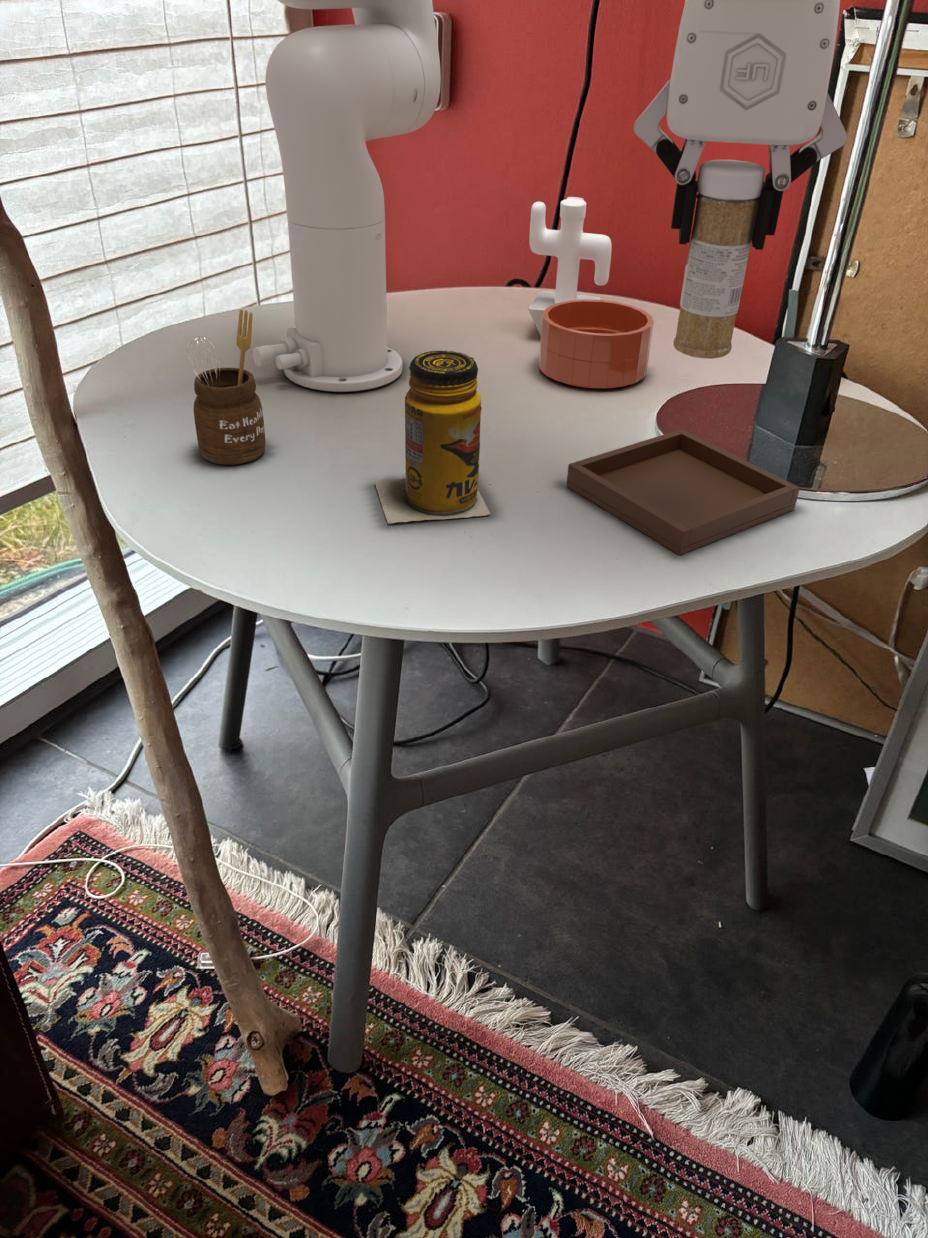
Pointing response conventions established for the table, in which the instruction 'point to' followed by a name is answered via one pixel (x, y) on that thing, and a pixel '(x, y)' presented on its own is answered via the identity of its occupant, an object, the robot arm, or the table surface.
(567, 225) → the figurine
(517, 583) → the table surface
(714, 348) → the sprinkles bottle
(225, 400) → the utensil holder
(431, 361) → the condiment
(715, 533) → the tray
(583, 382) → the bowl
